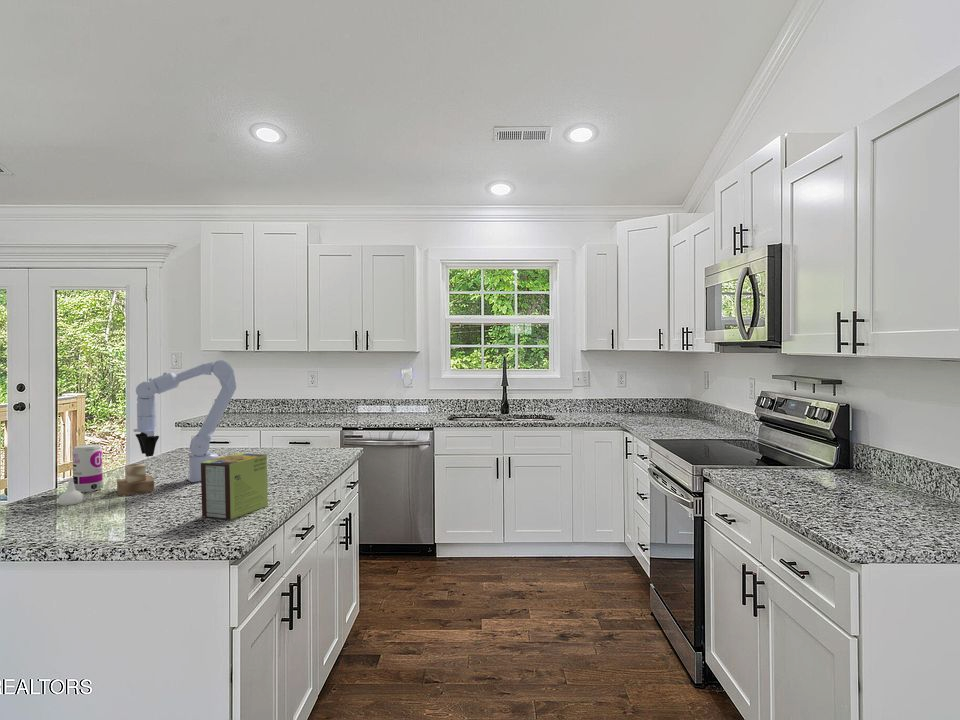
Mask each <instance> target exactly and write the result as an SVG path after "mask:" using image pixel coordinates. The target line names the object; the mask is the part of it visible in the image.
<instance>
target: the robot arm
mask: <svg viewBox="0 0 960 720" xmlns="http://www.w3.org/2000/svg"><path fill="white" fill-rule="evenodd" d="M212 374H213V375H214V376H215V377H216V378H217V379H218V381H219V384H220V386H221V389H220V391H219V392H218V395H217V396H216V398H215V400H214V402H213V404H212V406H211V408H210V410H209V412H208V414H207V415H206V418H205V419H204V422H203V423H202V425H201V427H200V429H199V430H198V433H197V434H196V435H195V436H193V437H191V440H190V444H189V451H190V452H191V453H189V454H188V472H189V474H188V475H189V476H188V477H186V478H185V479H186V480H188V481H189V482H190V483H196V482H201V462H205V461H209V460H213V459H217V458H219V456H218V454H217V453H216V452H215V453H212V451H211V450H210V441H211V439H212V437H213V436H214V433H215V431H216V428H217V427H218V425H219V423H220V421H221V419H222V417H223V415H224V413H225V411H226V409H227V407H228V405H229V403H230V401H231V399H232V397H233V396H234V393H235V391H236V389H237V382H236V377H235V376H236V375H235V371H234V368H233V367H232V365H231V364H230V363H229V362H228V361H227V360H224V359H218V360H216V361H210V362H207V363H201V364H200V365H197V366H195V367H191V368H189V369H187V370H185V371H181V372H179V373H173V372H171V371H170V372H167V371H166V372H163V373H162V374H161V375H159V376H157V377H154V378H152V377H150V378H148V381H142V382H140V383H139V384H138V385H137V386H136V388H135V393H136V396H137V398H136V401H137V403H136V421H137V423H136V427H137V428H135V429H132V431H133V432H136V433H135V437H136V439H137V440H138V444H139V448H140V452H141V454H143V455H144V454H145V457H146V458H147V457H148V458H149V457H153V456H154V454H155V450H156V445H157V442H158V441H159V439H160V436H159V435H155V432H156V431H157V430H158V427H157V407H156V406H157V405H156V403H157V402H156V398H155V397H156V395H155V394H157V395H158V394H159V395H160V394H163V393H166V392H168V391H170V390H171V391H172V390H174V389H176V388H178V386H180V383H181V382H184V381H187V380H190V379H193V378H197V377H199V376H202V375H206V376H207V375H208V376H212Z"/></svg>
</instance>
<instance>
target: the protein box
mask: <svg viewBox="0 0 960 720" xmlns="http://www.w3.org/2000/svg"><path fill="white" fill-rule="evenodd" d="M200 482H201V483H200V484H201V485H200V492H201V517H202V516H205V517H204V518H208V517H214V518H213V519H218V518H221V520H228V519H229V521H231V520H234V519H237V518H239V517H242V516H245V515H246V514H250V513H253V512H255V511H258V510H260V509H262V508H265V507H268V503H269V502H268V501H269V500H268V455H267V454H262V453H249V452H248V453H246V452H238V453H234V454H229V455H225V456H221V457H218V458H217V459H213V460H209V461H205V462H201V481H200Z"/></svg>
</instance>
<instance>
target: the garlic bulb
mask: <svg viewBox="0 0 960 720" xmlns="http://www.w3.org/2000/svg"><path fill="white" fill-rule="evenodd" d="M67 480H68V484H67V489H66V490H65V491H64V492H62V493H61V494H60V495H59V497H58V500H57V502H58V504H59V505H60V506H72V505H73V506H74V505H77V504H81V503H82V502H83V500H84V493H81V492H79V491H77V490H76V489H75V486H74V481H73V477H69V478H68V479H67ZM80 502H81V503H80Z"/></svg>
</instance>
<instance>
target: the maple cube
mask: <svg viewBox="0 0 960 720" xmlns="http://www.w3.org/2000/svg"><path fill="white" fill-rule="evenodd" d="M124 467H125V468H124V469H125V470H124V471H125V473H124V474H125V479H126V481H127V482H128V483H131V482H138V481H145V480H146V476H147V474H146V465H145V464H144V463H136V464H135V463H133V464H126V465H124Z"/></svg>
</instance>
